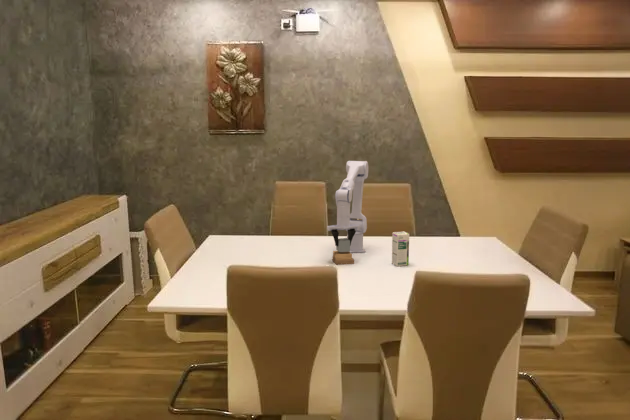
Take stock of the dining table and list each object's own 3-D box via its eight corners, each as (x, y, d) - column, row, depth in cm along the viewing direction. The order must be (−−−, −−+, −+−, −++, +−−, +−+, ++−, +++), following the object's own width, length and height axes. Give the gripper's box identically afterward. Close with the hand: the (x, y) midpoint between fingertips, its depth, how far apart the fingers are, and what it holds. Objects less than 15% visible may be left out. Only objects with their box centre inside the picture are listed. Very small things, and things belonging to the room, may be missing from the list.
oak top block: (333, 256, 248) (333, 251, 247) (347, 255, 249) (347, 250, 249) (336, 260, 241) (336, 254, 241) (351, 259, 242) (352, 254, 242)
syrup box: (396, 266, 239) (397, 234, 236) (391, 263, 244) (392, 231, 242) (408, 265, 240) (409, 233, 238) (403, 262, 246) (404, 230, 243)
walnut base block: (332, 261, 248) (332, 256, 248) (349, 260, 250) (349, 255, 250) (336, 266, 241) (336, 260, 240) (354, 265, 243) (354, 259, 242)
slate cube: (336, 249, 246) (336, 238, 245) (346, 248, 247) (346, 238, 246) (339, 252, 241) (339, 241, 240) (350, 251, 242) (350, 240, 242)
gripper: (329, 218, 236) (329, 248, 239) (361, 216, 240) (361, 246, 242) (325, 215, 243) (325, 244, 245) (356, 214, 246) (356, 243, 249)
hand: (342, 245), depth 244 cm, fingers open, 5 cm apart
